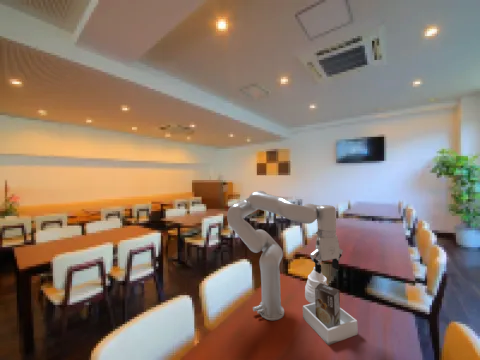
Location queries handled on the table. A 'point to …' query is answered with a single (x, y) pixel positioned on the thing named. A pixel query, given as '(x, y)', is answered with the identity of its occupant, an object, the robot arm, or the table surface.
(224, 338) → the table surface
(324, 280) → the honey pot
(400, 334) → the table surface
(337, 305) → the coffee box
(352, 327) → the bin
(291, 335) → the table surface
